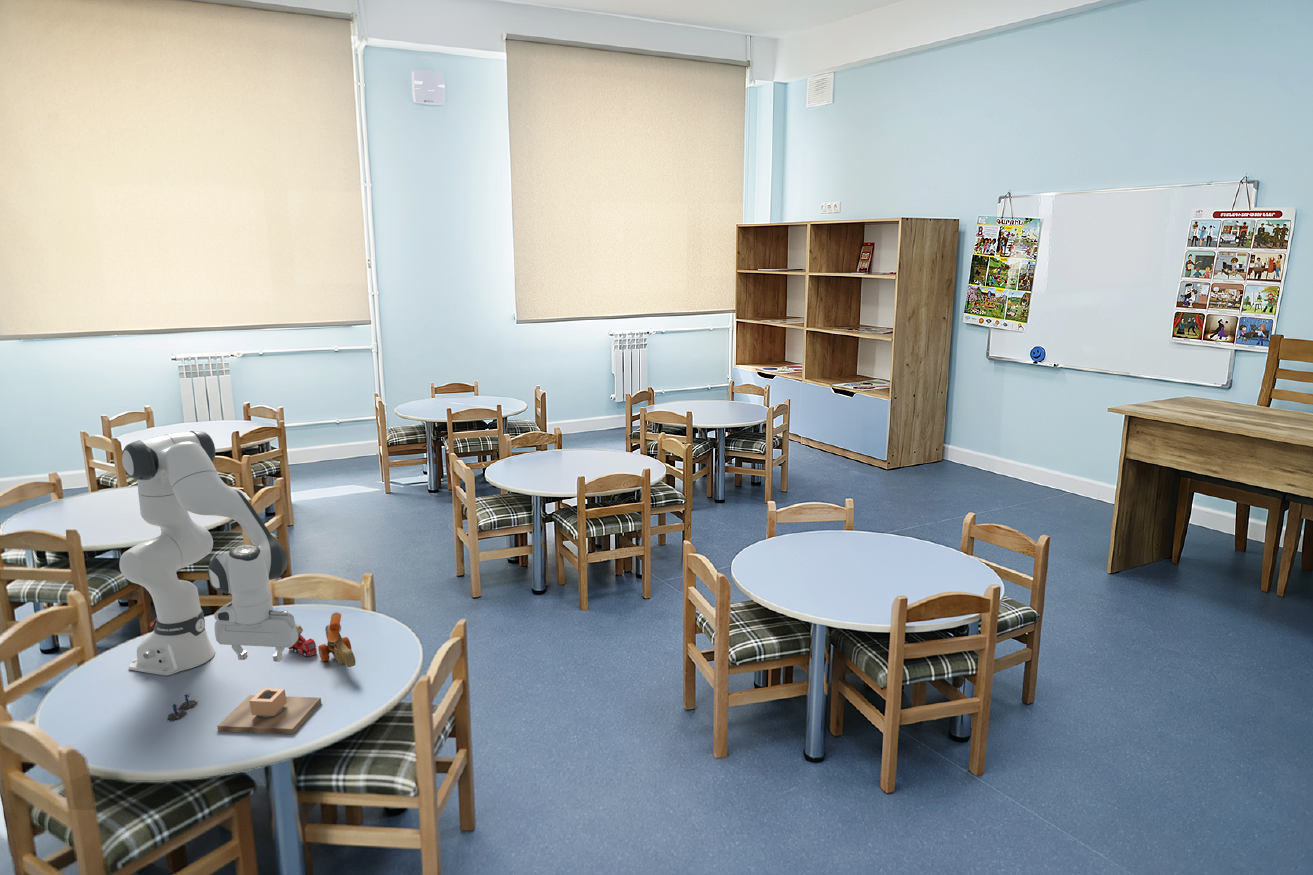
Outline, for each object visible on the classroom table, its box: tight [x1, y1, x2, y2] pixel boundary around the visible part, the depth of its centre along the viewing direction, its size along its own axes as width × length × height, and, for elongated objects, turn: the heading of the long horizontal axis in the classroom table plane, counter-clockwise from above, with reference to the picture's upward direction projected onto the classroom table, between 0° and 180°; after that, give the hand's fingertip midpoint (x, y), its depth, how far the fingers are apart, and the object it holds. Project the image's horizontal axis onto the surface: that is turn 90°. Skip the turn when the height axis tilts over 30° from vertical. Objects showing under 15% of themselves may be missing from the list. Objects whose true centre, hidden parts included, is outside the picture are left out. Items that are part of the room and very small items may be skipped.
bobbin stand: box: [216, 690, 322, 735], centre depth 210 cm, size 20×14×8 cm
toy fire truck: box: [288, 623, 318, 657], centre depth 244 cm, size 3×14×10 cm, turn 57°
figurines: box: [166, 692, 198, 723], centre depth 214 cm, size 10×5×4 cm, turn 176°
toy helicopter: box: [317, 612, 356, 668], centre depth 234 cm, size 8×21×14 cm, turn 38°
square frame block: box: [249, 687, 287, 716], centre depth 210 cm, size 6×6×4 cm
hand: (260, 659), depth 207 cm, fingers open, 8 cm apart
